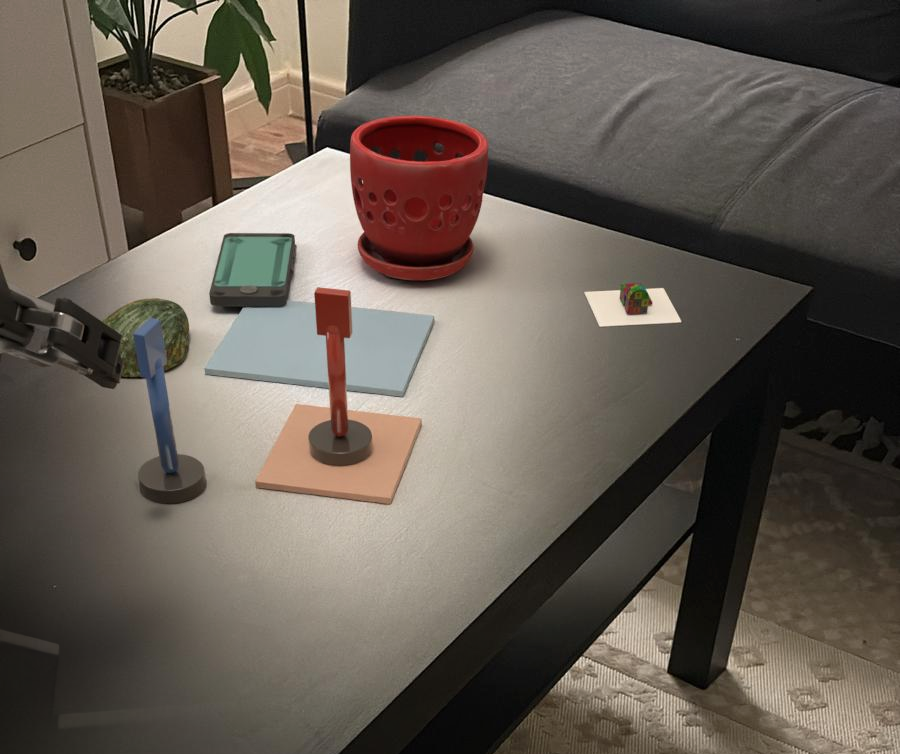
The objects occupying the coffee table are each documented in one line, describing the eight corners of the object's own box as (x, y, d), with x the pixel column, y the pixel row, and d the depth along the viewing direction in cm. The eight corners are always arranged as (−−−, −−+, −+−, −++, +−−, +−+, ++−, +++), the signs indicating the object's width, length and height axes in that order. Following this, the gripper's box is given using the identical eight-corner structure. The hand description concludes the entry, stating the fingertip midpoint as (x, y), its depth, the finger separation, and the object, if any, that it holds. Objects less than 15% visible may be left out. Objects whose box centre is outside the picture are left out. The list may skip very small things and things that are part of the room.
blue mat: (204, 374, 114) (204, 368, 113) (250, 301, 123) (250, 295, 123) (402, 397, 112) (402, 390, 111) (434, 321, 121) (434, 315, 120)
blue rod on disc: (187, 509, 100) (162, 349, 90) (128, 496, 101) (96, 336, 91) (217, 473, 103) (195, 316, 93) (159, 461, 104) (131, 304, 94)
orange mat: (255, 487, 102) (254, 481, 101) (296, 409, 110) (295, 403, 109) (390, 504, 101) (390, 498, 100) (421, 424, 109) (421, 418, 108)
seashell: (59, 297, 114) (162, 270, 118) (67, 339, 117) (167, 311, 121) (107, 353, 109) (213, 322, 113) (114, 395, 112) (216, 364, 116)
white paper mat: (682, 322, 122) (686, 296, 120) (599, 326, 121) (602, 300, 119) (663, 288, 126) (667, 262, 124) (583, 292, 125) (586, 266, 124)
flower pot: (457, 301, 124) (459, 172, 115) (333, 277, 127) (326, 149, 118) (501, 246, 132) (507, 122, 123) (384, 224, 135) (381, 102, 126)
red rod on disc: (301, 462, 103) (288, 303, 94) (318, 428, 107) (307, 271, 97) (364, 469, 103) (358, 310, 93) (379, 435, 106) (374, 278, 96)
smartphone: (208, 293, 120) (224, 230, 130) (209, 307, 121) (225, 243, 131) (287, 294, 120) (296, 231, 131) (288, 307, 121) (297, 243, 132)
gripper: (29, 208, 65) (167, 322, 81) (-206, 169, 68) (-28, 286, 84) (-3, 355, 65) (141, 439, 81) (-235, 309, 68) (-53, 399, 84)
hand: (55, 361), depth 83 cm, fingers open, 8 cm apart
